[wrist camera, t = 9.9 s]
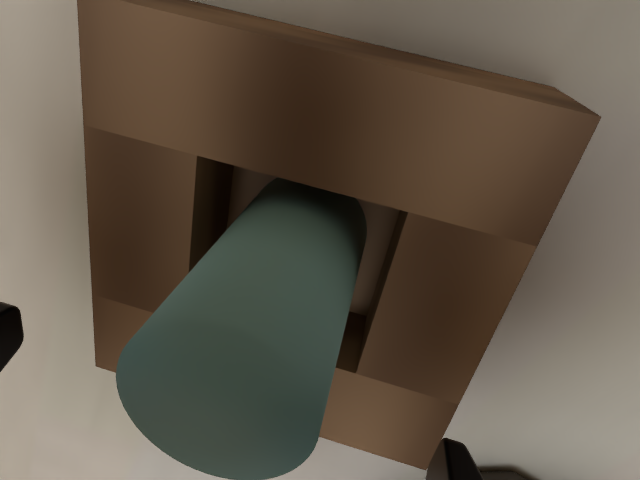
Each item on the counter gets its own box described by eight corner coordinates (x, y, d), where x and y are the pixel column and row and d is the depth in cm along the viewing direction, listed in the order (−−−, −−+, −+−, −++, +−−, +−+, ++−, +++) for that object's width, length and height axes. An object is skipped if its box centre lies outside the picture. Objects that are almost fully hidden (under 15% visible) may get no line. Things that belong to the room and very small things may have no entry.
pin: (351, 291, 16) (298, 503, 9) (244, 261, 17) (117, 444, 10) (380, 189, 15) (342, 359, 8) (259, 157, 15) (114, 292, 8)
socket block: (554, 87, 13) (601, 116, 10) (425, 384, 19) (425, 470, 15) (162, -6, 14) (76, -10, 11) (153, 303, 20) (95, 366, 16)
